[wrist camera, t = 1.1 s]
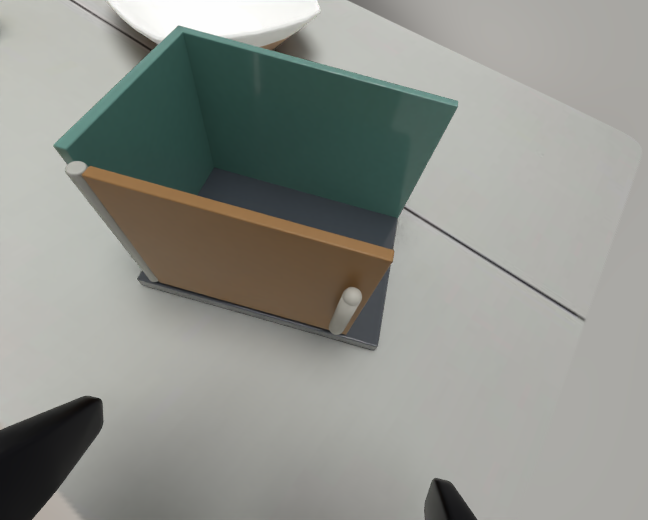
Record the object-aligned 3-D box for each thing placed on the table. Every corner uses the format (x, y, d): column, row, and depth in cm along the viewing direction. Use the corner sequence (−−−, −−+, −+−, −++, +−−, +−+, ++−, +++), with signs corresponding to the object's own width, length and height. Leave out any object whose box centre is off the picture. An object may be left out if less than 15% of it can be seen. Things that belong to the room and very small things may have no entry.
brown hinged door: (342, 352, 21) (389, 287, 12) (138, 294, 21) (41, 189, 12) (348, 325, 22) (395, 247, 13) (153, 270, 22) (71, 157, 13)
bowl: (337, 64, 40) (345, 15, 35) (161, 109, 32) (142, 53, 27) (254, -15, 47) (251, -63, 43) (95, 5, 39) (71, -52, 35)
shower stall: (374, 351, 22) (451, 277, 12) (141, 285, 22) (34, 161, 13) (395, 219, 28) (458, 100, 18) (212, 169, 29) (177, 24, 19)
